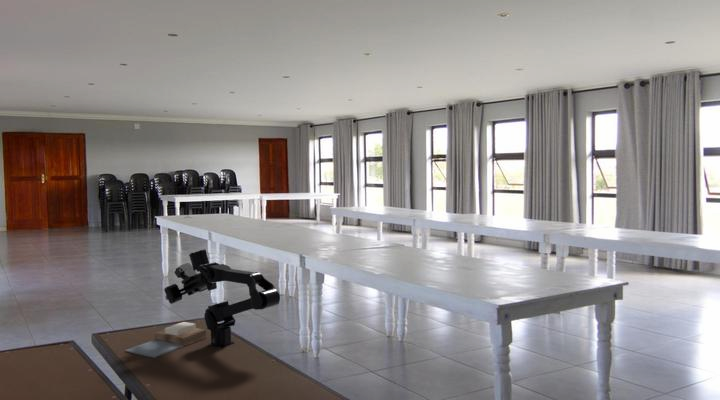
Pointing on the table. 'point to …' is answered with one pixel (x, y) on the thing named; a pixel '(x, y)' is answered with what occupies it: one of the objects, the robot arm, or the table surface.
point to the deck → (181, 337)
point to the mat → (154, 348)
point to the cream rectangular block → (180, 328)
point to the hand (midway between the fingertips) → (176, 294)
